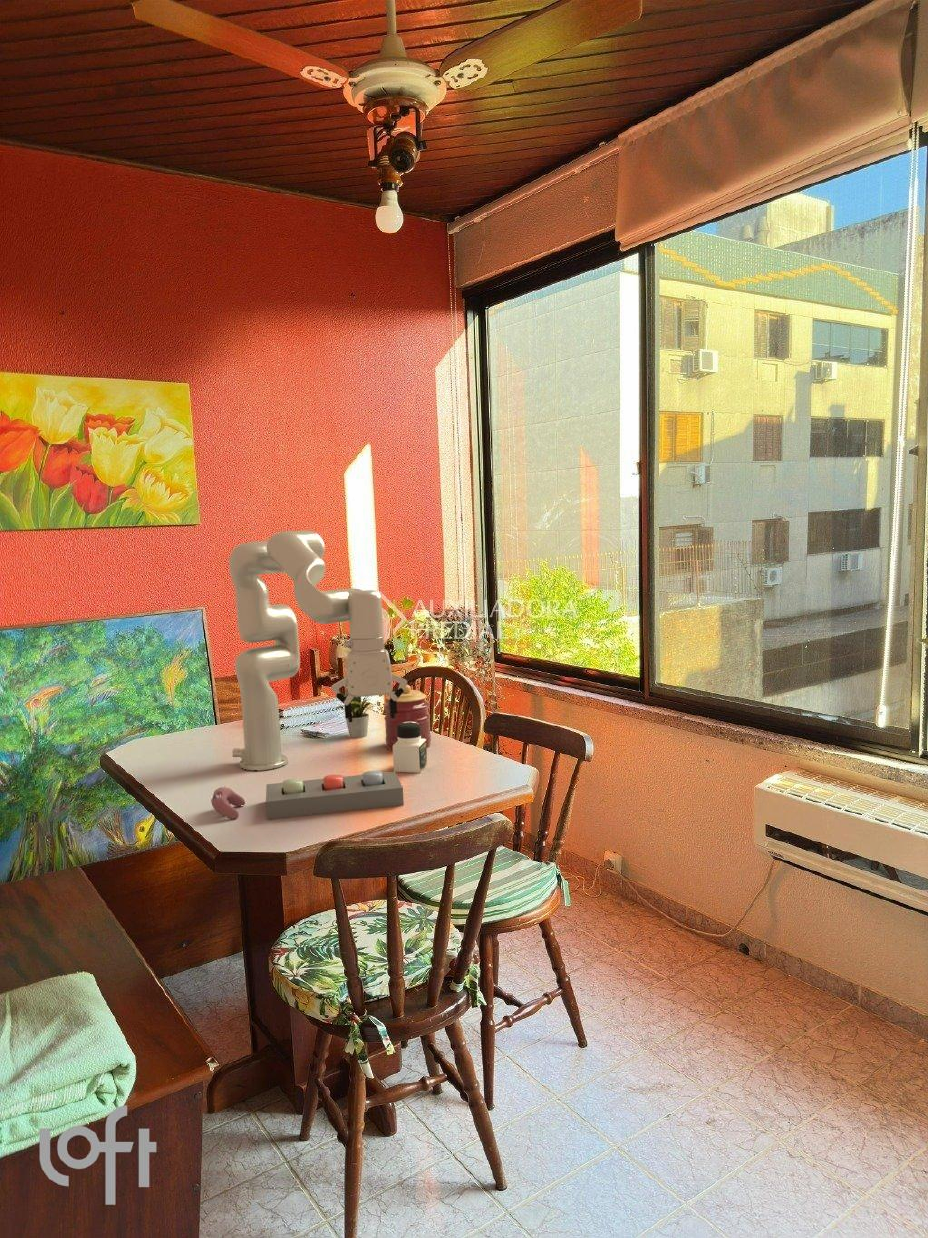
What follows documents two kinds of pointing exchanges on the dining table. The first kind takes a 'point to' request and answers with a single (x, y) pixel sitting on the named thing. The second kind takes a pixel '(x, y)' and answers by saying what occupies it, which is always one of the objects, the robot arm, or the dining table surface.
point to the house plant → (357, 718)
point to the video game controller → (226, 802)
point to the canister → (408, 715)
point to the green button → (293, 786)
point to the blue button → (372, 778)
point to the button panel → (333, 797)
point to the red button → (333, 782)
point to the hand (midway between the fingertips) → (371, 719)
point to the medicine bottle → (409, 749)
